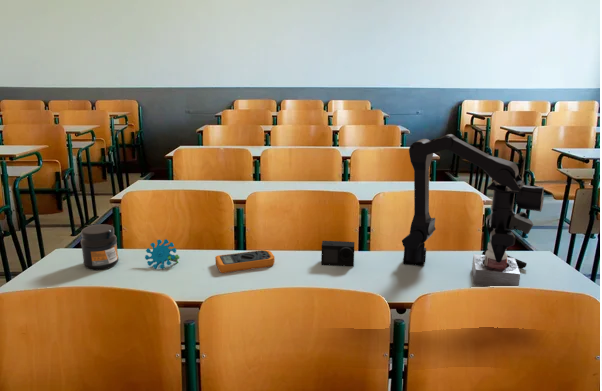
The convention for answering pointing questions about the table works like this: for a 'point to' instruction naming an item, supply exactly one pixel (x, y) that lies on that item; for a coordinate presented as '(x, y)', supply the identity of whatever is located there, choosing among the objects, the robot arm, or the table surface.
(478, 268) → the grey square holder
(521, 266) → the electric trimmer
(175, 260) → the toy virus model
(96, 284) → the table surface
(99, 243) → the supplement container
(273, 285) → the table surface
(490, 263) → the pill bottle
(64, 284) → the table surface
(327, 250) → the digital camera
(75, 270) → the table surface
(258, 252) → the multimeter
